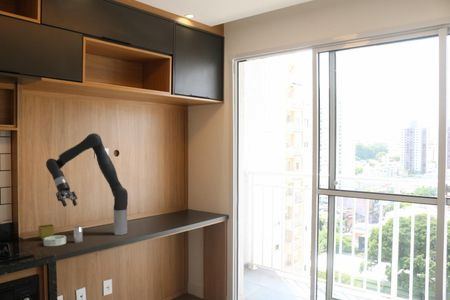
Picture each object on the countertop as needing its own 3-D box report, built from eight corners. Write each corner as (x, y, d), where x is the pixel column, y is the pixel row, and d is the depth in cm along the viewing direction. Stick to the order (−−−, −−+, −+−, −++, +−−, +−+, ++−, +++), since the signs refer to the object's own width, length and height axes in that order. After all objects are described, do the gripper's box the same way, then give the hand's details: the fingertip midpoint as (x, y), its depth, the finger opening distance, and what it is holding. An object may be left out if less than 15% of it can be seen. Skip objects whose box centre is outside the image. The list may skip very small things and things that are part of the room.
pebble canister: (74, 241, 241) (74, 225, 241) (83, 240, 242) (83, 225, 242) (73, 243, 236) (73, 227, 236) (81, 242, 237) (81, 227, 237)
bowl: (47, 242, 239) (47, 235, 239) (68, 240, 242) (68, 234, 242) (41, 246, 226) (41, 240, 226) (63, 245, 229) (63, 239, 229)
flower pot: (40, 241, 242) (40, 227, 242) (37, 239, 249) (37, 225, 249) (54, 239, 247) (54, 226, 247) (51, 237, 254) (51, 224, 254)
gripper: (56, 181, 240) (65, 203, 235) (73, 182, 253) (82, 202, 248) (49, 187, 242) (58, 209, 237) (66, 187, 255) (75, 208, 250)
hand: (70, 205), depth 243 cm, fingers open, 8 cm apart
